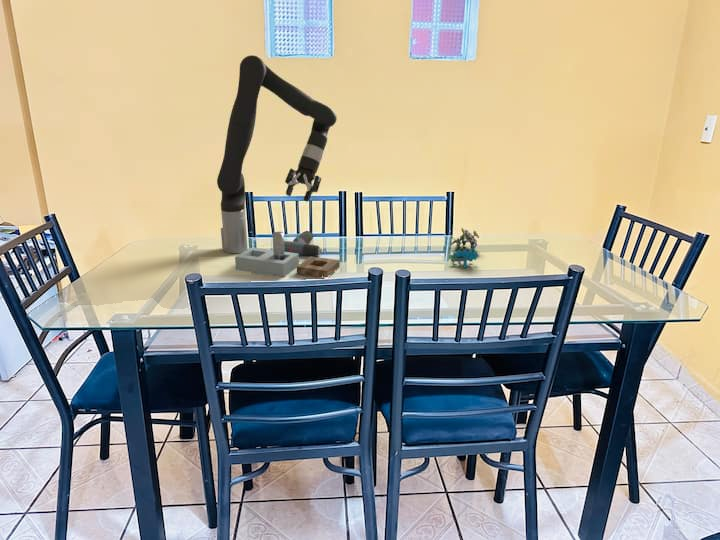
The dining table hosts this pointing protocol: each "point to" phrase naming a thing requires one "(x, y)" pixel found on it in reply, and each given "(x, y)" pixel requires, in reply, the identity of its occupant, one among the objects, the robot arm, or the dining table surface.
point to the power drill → (302, 245)
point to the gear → (463, 257)
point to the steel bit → (278, 245)
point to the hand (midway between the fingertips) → (296, 198)
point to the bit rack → (266, 262)
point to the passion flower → (466, 239)
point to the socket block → (318, 267)
